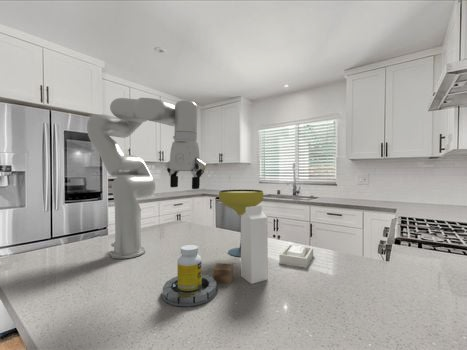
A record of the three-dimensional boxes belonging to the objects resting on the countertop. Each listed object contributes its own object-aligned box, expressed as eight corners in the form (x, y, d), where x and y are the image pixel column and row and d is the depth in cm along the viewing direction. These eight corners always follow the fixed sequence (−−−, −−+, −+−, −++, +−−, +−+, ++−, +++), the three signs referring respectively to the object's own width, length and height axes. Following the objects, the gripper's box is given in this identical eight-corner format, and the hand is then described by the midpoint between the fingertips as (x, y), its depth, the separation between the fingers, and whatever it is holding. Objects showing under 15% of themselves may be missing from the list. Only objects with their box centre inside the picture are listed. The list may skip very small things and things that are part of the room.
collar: (150, 298, 62) (150, 290, 62) (186, 276, 75) (186, 270, 75) (196, 313, 55) (196, 304, 55) (227, 286, 68) (227, 279, 68)
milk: (268, 279, 73) (268, 206, 73) (251, 284, 70) (251, 208, 70) (256, 272, 78) (256, 204, 78) (240, 276, 75) (240, 205, 75)
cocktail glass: (238, 264, 85) (238, 193, 85) (210, 251, 100) (210, 190, 99) (273, 253, 97) (272, 191, 97) (243, 243, 111) (243, 188, 111)
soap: (291, 252, 96) (291, 244, 96) (305, 254, 93) (305, 246, 93) (286, 259, 88) (286, 251, 88) (301, 262, 85) (301, 253, 85)
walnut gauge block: (213, 283, 71) (213, 269, 71) (217, 275, 76) (217, 263, 76) (230, 284, 70) (230, 270, 70) (232, 276, 75) (232, 264, 75)
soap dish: (279, 263, 86) (279, 254, 86) (289, 252, 98) (289, 244, 98) (306, 267, 82) (306, 258, 82) (313, 255, 93) (313, 247, 93)
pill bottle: (196, 297, 62) (196, 251, 62) (173, 294, 63) (173, 250, 63) (204, 285, 68) (204, 244, 68) (183, 283, 69) (183, 243, 69)
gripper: (159, 138, 84) (158, 187, 84) (198, 135, 75) (197, 190, 76) (174, 140, 90) (173, 186, 91) (212, 138, 82) (211, 189, 82)
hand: (184, 188), depth 83 cm, fingers open, 9 cm apart
